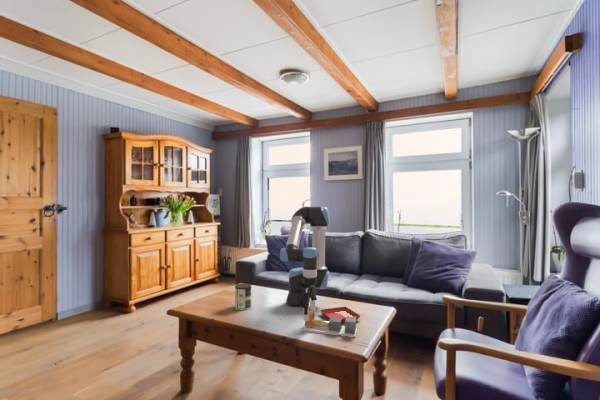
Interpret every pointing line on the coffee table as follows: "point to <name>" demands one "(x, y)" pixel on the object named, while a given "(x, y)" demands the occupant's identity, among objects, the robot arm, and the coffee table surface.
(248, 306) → the coffee can
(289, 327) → the coffee table surface
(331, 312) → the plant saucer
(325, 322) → the yellow wall block
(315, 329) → the base board
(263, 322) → the coffee table surface
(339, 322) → the grey speckled block
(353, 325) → the socket
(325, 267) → the robot arm
